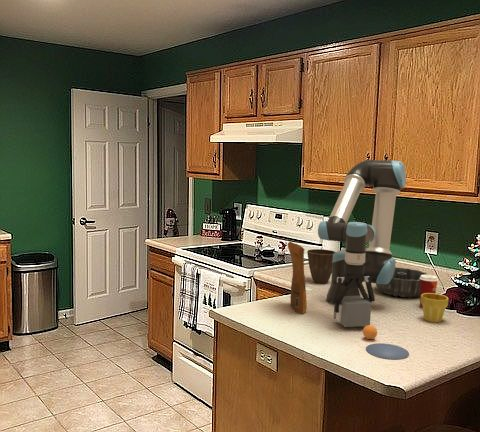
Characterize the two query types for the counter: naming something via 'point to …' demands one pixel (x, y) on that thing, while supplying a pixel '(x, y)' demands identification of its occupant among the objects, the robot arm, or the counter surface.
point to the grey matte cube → (354, 311)
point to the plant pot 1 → (320, 264)
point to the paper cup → (427, 285)
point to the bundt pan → (403, 283)
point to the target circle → (387, 351)
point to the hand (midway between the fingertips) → (351, 319)
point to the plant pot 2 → (433, 306)
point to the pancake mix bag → (298, 279)
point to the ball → (370, 332)
